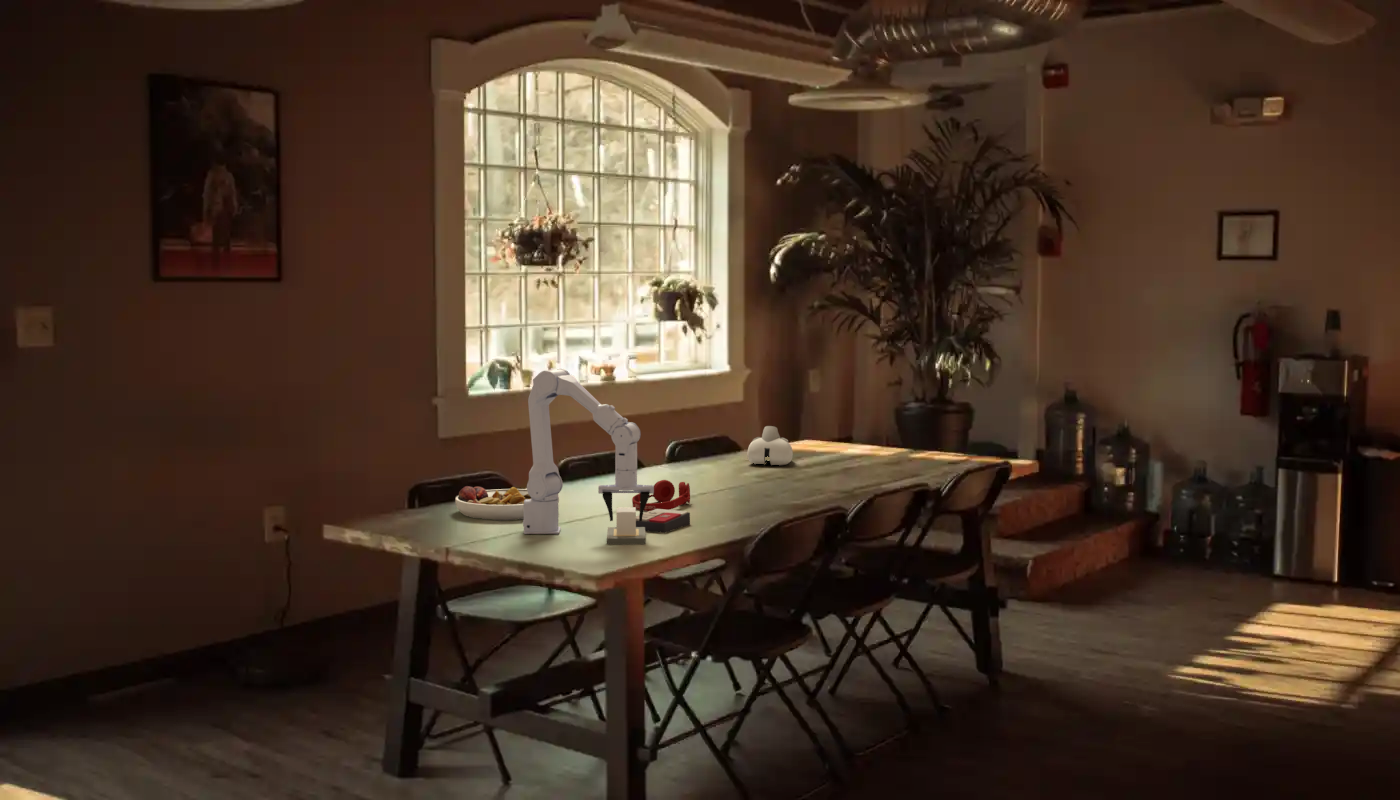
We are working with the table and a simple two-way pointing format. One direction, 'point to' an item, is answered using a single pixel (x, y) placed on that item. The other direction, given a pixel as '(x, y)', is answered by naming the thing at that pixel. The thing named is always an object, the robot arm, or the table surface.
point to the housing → (626, 520)
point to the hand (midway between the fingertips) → (626, 520)
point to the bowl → (492, 503)
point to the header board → (625, 536)
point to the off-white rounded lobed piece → (770, 448)
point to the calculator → (663, 520)
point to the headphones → (665, 496)
